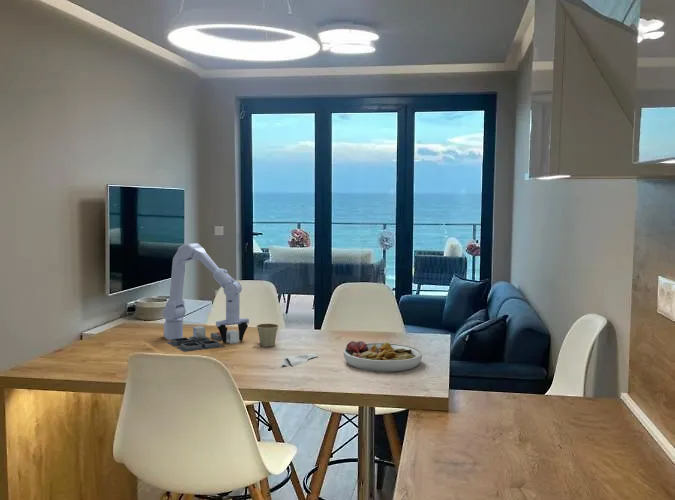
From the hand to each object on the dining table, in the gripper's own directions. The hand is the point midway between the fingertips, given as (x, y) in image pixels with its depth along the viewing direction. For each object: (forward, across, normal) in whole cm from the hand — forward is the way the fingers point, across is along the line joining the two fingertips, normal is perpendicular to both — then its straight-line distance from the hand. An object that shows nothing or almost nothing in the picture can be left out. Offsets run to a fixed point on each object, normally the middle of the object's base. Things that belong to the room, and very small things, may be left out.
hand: (232, 341), depth 269 cm
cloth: (+2, +10, -38) cm, 39 cm away
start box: (+1, 0, +10) cm, 10 cm away
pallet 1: (+1, -15, +10) cm, 18 cm away
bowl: (+2, +35, -59) cm, 68 cm away
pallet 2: (+1, -15, -1) cm, 15 cm away
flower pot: (+2, +12, -9) cm, 15 cm away
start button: (0, 0, +10) cm, 10 cm away
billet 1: (0, -11, +10) cm, 15 cm away
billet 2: (+2, 0, 0) cm, 2 cm away
